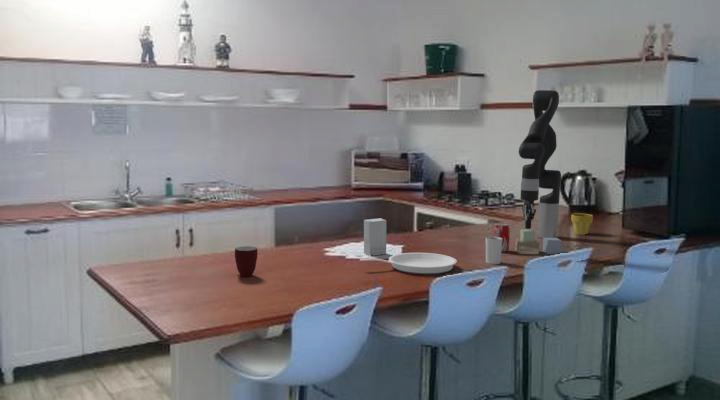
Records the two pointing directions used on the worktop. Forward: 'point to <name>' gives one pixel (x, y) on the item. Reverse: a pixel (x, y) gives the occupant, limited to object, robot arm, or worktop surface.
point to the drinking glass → (493, 250)
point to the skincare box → (375, 236)
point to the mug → (246, 260)
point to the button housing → (527, 247)
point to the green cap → (527, 235)
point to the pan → (420, 263)
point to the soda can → (502, 235)
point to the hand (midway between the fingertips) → (527, 228)
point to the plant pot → (581, 223)
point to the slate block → (551, 245)
